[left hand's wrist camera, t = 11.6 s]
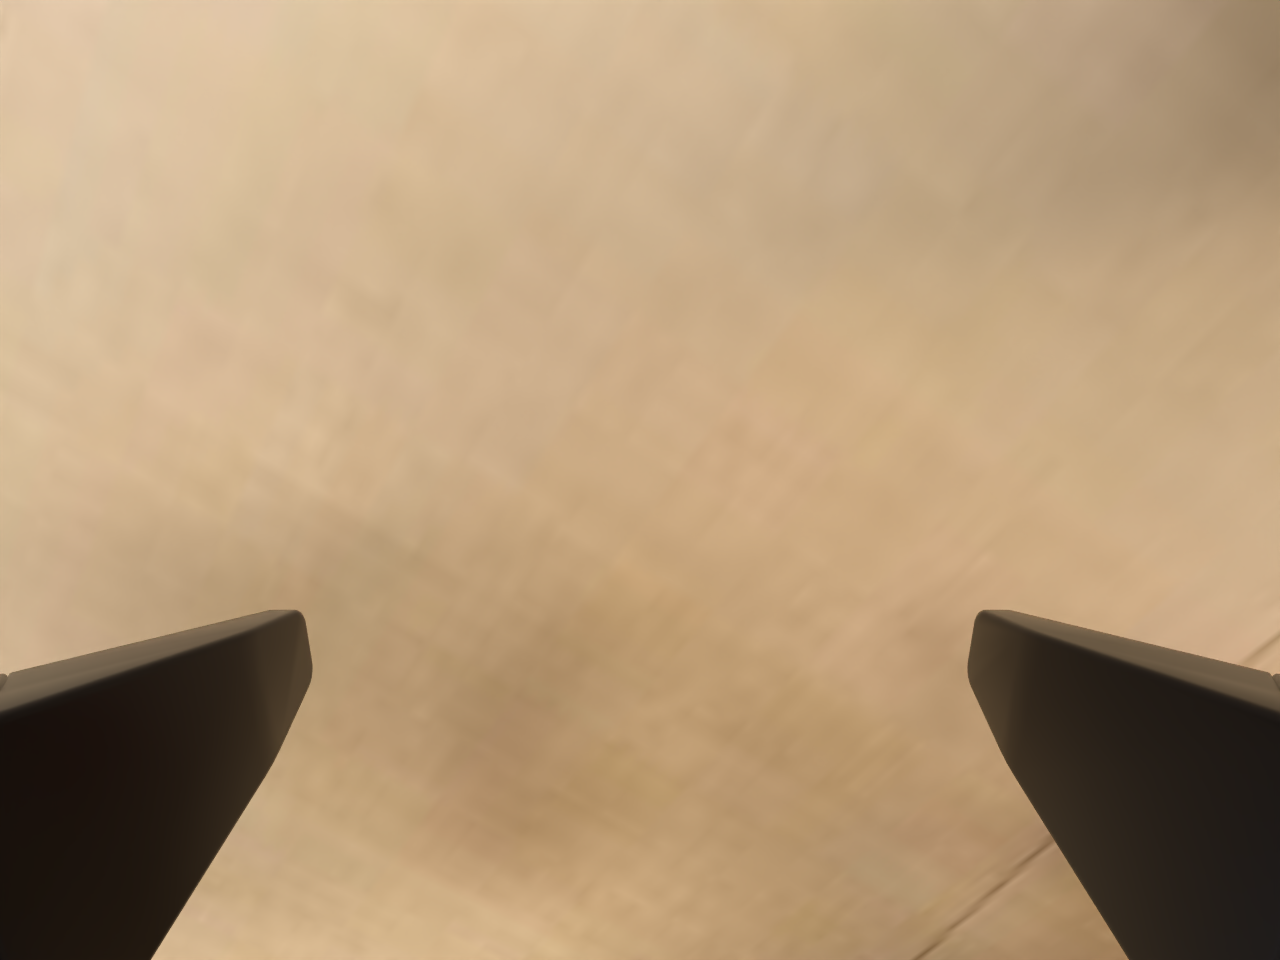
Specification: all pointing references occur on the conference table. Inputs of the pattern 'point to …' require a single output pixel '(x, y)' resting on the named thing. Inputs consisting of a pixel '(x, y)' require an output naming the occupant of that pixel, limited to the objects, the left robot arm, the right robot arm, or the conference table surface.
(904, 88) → the conference table surface
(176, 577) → the conference table surface
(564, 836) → the conference table surface
